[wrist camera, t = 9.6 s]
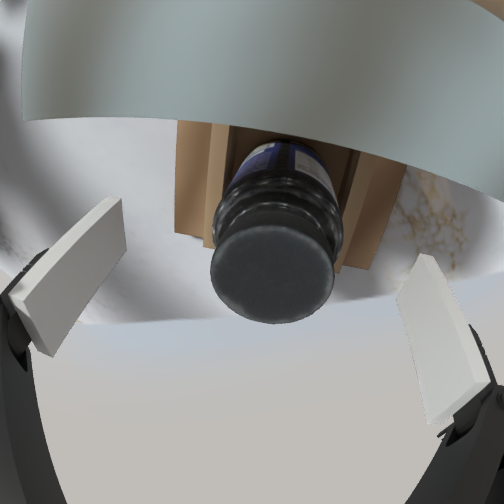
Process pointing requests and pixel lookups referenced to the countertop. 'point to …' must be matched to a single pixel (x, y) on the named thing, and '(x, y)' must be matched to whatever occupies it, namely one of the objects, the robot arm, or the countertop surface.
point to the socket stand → (285, 91)
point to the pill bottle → (277, 235)
